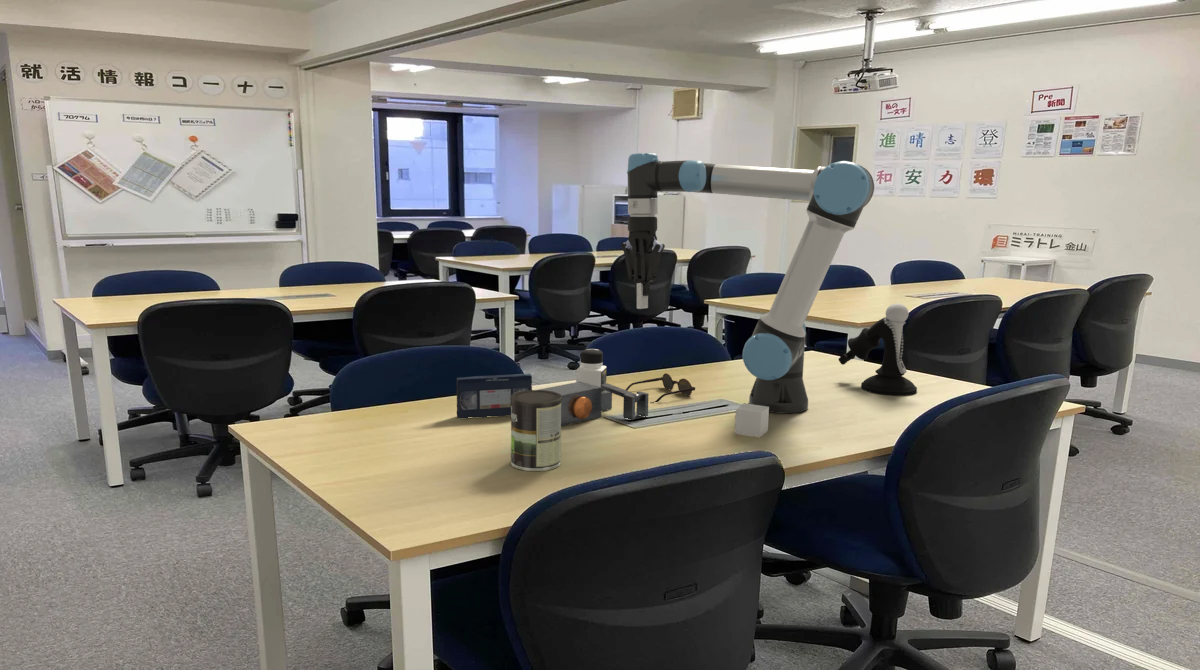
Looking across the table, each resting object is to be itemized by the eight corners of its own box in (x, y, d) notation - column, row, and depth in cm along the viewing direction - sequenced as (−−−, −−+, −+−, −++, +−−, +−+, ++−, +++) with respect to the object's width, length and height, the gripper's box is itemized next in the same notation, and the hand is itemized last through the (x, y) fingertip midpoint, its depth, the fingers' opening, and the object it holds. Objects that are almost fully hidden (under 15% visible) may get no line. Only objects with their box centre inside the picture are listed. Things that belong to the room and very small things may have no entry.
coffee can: (509, 472, 160) (509, 402, 158) (511, 455, 170) (510, 389, 168) (562, 471, 161) (563, 402, 159) (560, 455, 171) (561, 389, 169)
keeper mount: (647, 417, 202) (648, 393, 200) (631, 421, 198) (632, 397, 197) (610, 406, 211) (610, 383, 210) (594, 410, 207) (594, 386, 206)
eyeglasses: (694, 398, 223) (695, 380, 222) (651, 405, 214) (652, 387, 214) (661, 387, 235) (661, 370, 234) (619, 394, 226) (619, 376, 225)
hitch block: (601, 417, 201) (601, 387, 200) (557, 427, 192) (557, 396, 190) (579, 410, 207) (579, 381, 205) (536, 420, 197) (536, 389, 196)
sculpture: (901, 398, 225) (909, 308, 220) (824, 383, 241) (830, 299, 237) (925, 389, 235) (933, 303, 231) (850, 376, 252) (855, 295, 248)
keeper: (643, 402, 200) (643, 394, 200) (634, 404, 198) (634, 396, 198) (608, 388, 209) (608, 381, 209) (599, 390, 207) (599, 383, 207)
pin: (591, 416, 197) (592, 395, 196) (575, 420, 193) (575, 399, 192) (555, 406, 206) (556, 385, 206) (539, 409, 203) (539, 389, 202)
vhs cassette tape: (457, 419, 197) (457, 379, 196) (456, 416, 200) (455, 376, 198) (532, 415, 202) (532, 375, 200) (530, 412, 205) (530, 373, 203)
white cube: (759, 438, 186) (761, 412, 185) (734, 434, 189) (735, 408, 188) (767, 431, 191) (769, 406, 190) (743, 427, 194) (744, 403, 193)
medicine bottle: (601, 396, 221) (602, 353, 219) (575, 395, 223) (576, 351, 221) (606, 390, 228) (607, 348, 226) (581, 389, 230) (581, 347, 228)
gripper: (613, 215, 209) (613, 307, 213) (652, 216, 200) (652, 311, 204) (633, 215, 214) (632, 304, 218) (672, 215, 205) (671, 308, 209)
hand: (642, 308), depth 211 cm, fingers closed
